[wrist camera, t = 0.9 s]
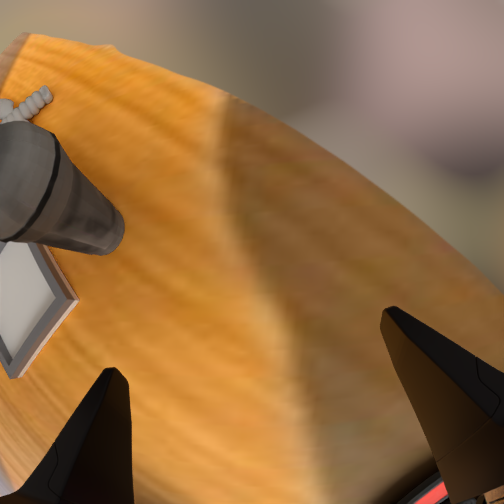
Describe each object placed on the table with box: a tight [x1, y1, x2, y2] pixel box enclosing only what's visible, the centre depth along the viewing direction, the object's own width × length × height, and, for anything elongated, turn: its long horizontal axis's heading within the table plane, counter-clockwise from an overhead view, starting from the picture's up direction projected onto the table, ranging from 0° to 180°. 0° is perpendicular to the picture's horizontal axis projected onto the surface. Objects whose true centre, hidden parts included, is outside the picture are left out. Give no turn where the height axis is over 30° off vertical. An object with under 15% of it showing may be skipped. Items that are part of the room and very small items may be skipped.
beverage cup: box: [0, 121, 124, 256], centre depth 14 cm, size 7×7×20 cm
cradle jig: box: [0, 241, 80, 379], centre depth 22 cm, size 13×13×2 cm
